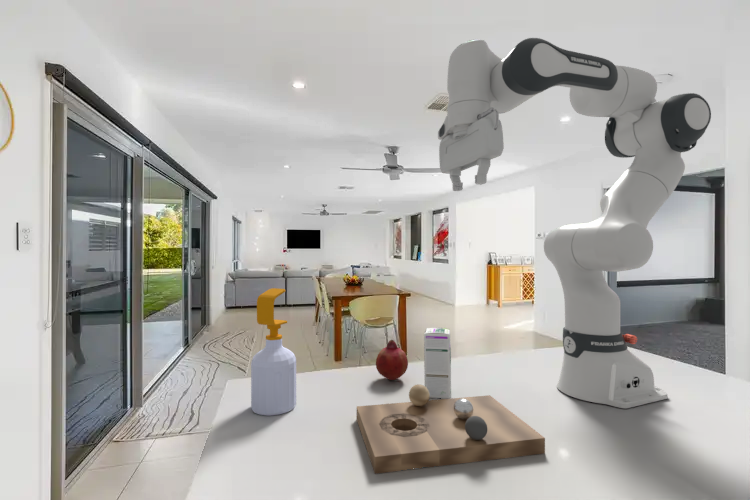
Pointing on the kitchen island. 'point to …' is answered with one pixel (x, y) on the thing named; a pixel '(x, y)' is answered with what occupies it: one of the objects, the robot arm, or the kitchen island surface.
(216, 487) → the kitchen island surface
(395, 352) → the fruit
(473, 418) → the black rubber ball
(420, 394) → the beech ball
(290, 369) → the soap bottle
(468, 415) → the steel ball
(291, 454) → the kitchen island surface
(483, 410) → the board
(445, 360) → the syrup box
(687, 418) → the kitchen island surface
